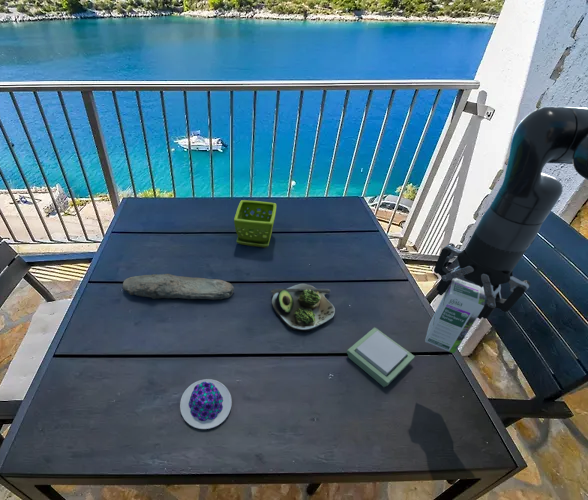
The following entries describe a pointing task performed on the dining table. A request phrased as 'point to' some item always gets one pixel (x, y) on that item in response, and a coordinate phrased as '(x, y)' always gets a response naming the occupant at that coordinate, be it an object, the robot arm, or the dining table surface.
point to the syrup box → (455, 315)
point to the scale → (370, 368)
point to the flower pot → (254, 223)
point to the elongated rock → (177, 287)
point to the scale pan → (381, 353)
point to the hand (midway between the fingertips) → (460, 304)
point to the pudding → (205, 404)
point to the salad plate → (302, 306)
